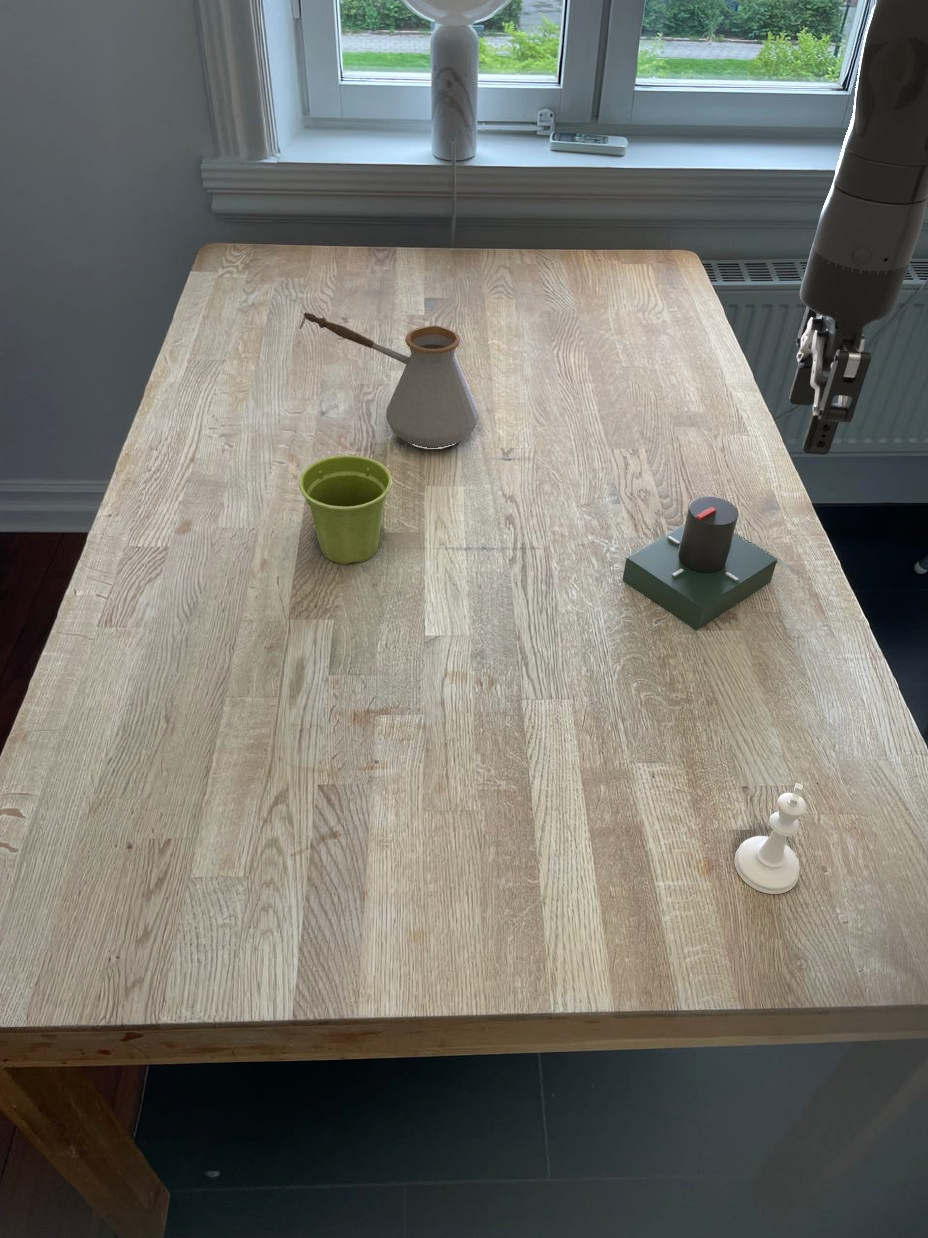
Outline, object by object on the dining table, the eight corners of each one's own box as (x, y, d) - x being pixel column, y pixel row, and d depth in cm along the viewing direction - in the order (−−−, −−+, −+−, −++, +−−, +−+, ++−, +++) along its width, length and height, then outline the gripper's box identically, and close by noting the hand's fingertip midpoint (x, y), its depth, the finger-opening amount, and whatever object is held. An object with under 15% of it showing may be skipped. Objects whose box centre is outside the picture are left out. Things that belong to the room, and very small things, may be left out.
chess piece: (803, 854, 77) (840, 774, 70) (792, 904, 73) (828, 825, 67) (742, 831, 78) (771, 750, 71) (727, 879, 75) (757, 799, 68)
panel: (696, 536, 107) (701, 513, 105) (770, 582, 102) (778, 558, 99) (622, 579, 101) (626, 556, 99) (696, 630, 96) (703, 606, 94)
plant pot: (410, 538, 106) (409, 470, 100) (363, 586, 99) (359, 517, 94) (338, 512, 109) (333, 445, 103) (288, 558, 103) (280, 489, 97)
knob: (698, 537, 102) (710, 488, 98) (735, 560, 99) (749, 510, 95) (668, 555, 100) (679, 505, 95) (705, 579, 97) (718, 528, 93)
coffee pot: (482, 413, 125) (486, 302, 115) (474, 462, 117) (478, 346, 107) (319, 402, 127) (309, 290, 117) (299, 449, 118) (287, 333, 108)
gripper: (932, 288, 71) (864, 474, 82) (891, 218, 82) (835, 391, 93) (828, 280, 72) (774, 466, 83) (801, 211, 82) (756, 384, 93)
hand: (807, 426), depth 88 cm, fingers open, 8 cm apart
